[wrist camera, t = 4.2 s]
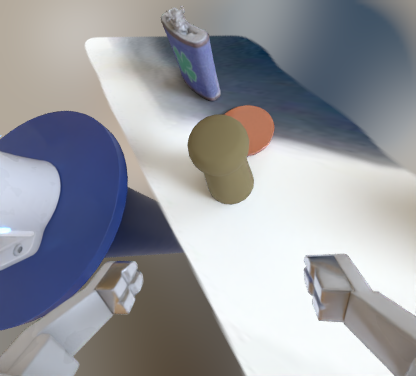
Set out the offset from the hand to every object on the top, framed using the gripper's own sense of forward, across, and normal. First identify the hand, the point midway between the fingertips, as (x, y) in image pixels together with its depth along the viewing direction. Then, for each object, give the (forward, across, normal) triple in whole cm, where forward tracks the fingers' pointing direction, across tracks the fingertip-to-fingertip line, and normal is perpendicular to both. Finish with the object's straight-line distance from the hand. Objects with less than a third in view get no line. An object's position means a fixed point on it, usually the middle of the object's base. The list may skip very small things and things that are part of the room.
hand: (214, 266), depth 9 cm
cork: (+16, 0, +3) cm, 16 cm away
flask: (+29, +4, -9) cm, 30 cm away
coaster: (+21, -2, -2) cm, 21 cm away
